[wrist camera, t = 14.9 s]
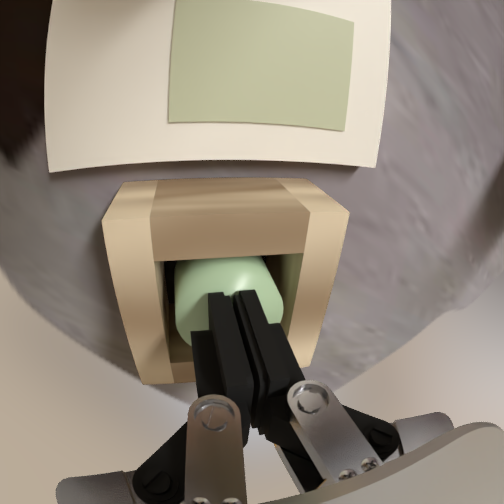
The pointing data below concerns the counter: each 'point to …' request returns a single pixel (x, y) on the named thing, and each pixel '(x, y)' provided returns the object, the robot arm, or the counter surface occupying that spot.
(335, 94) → the picture board
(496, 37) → the counter surface
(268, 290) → the button
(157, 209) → the box
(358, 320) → the counter surface
